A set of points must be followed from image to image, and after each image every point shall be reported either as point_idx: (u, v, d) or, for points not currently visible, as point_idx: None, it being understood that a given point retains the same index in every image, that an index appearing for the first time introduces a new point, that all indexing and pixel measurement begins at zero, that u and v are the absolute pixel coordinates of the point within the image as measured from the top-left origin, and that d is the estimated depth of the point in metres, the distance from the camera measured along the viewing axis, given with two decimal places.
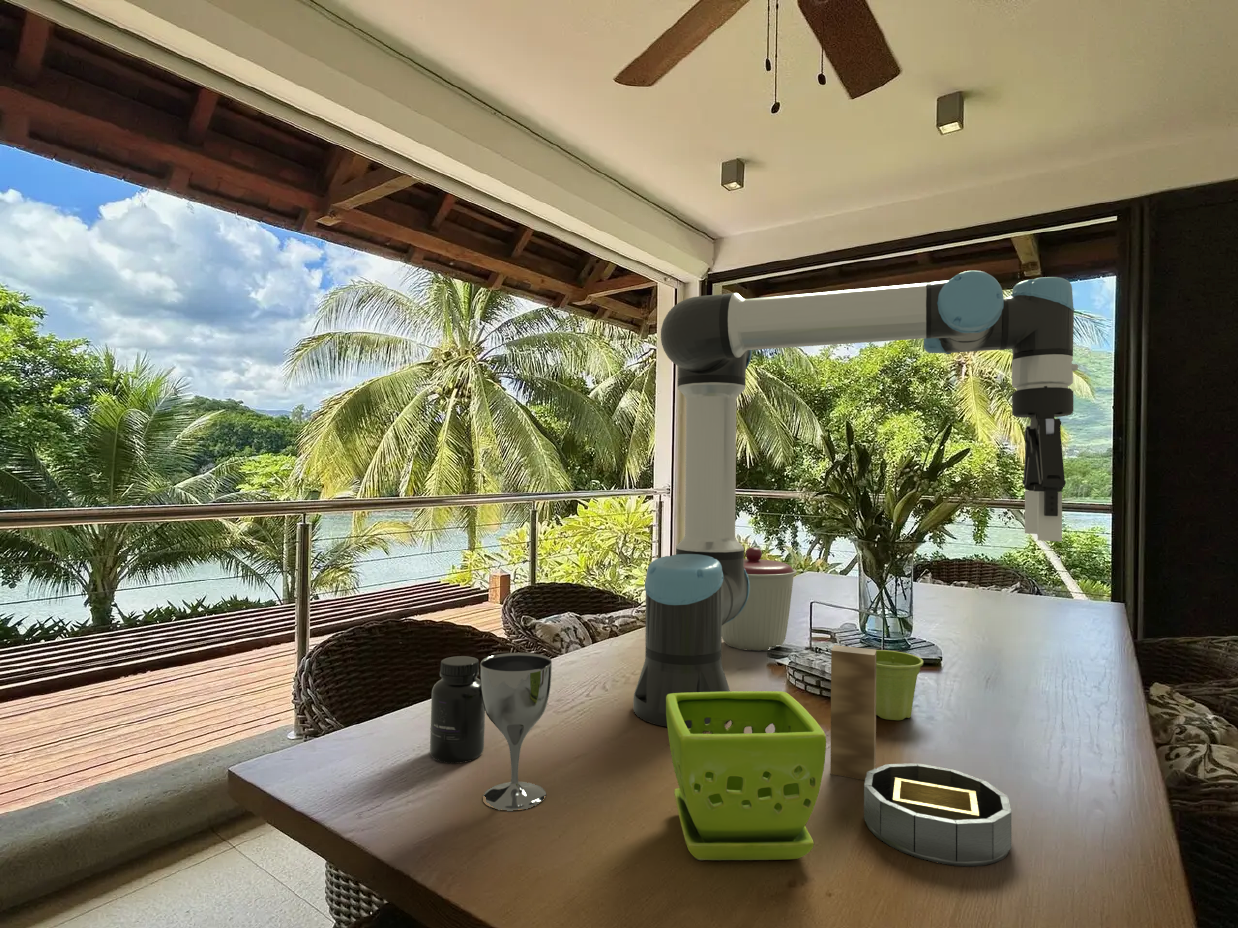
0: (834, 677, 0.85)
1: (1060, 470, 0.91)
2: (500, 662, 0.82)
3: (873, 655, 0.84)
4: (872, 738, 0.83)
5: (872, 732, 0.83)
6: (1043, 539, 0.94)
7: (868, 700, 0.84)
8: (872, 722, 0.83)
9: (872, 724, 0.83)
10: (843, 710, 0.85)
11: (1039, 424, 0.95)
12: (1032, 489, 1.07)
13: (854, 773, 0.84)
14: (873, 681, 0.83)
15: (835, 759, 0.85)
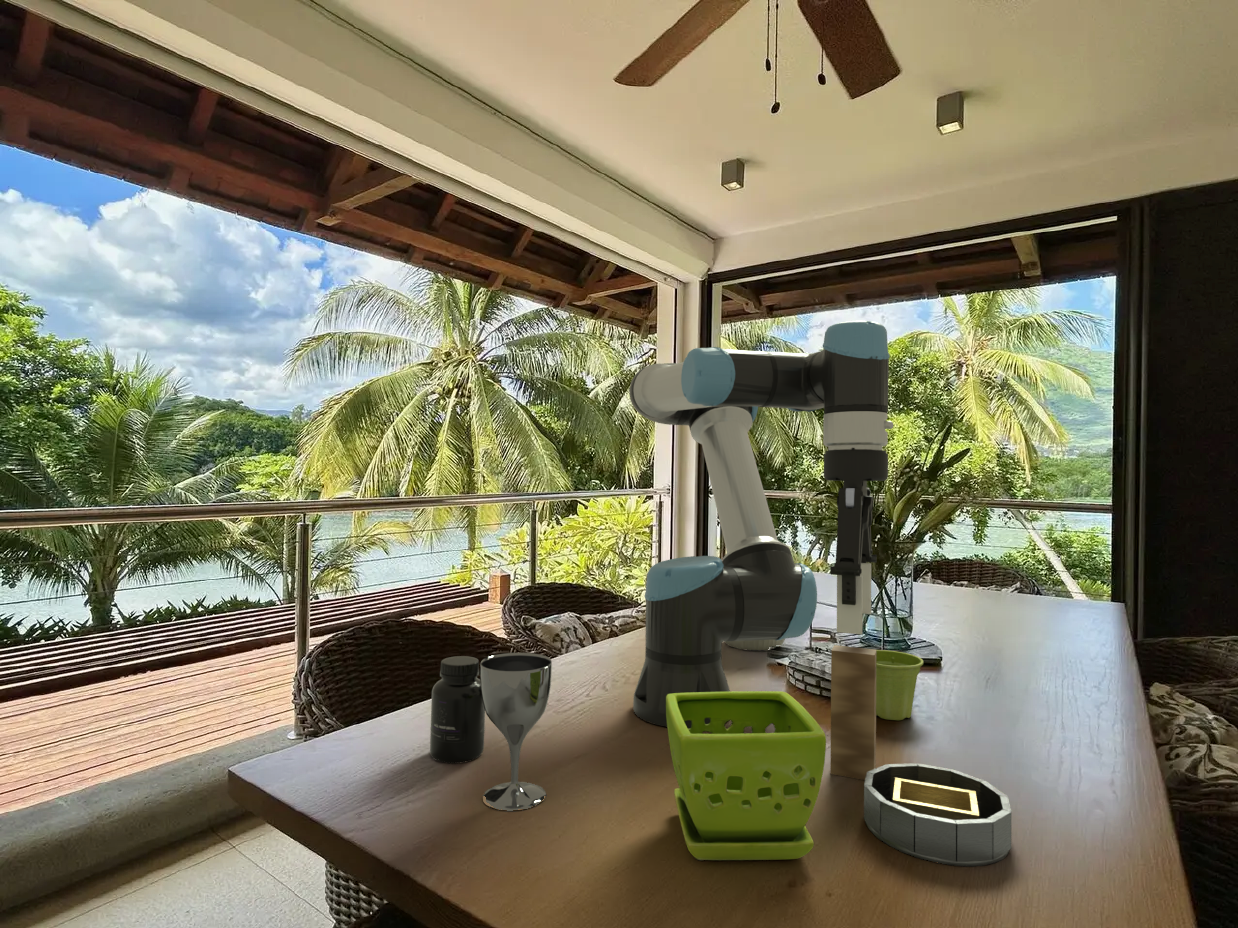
0: (834, 677, 0.85)
1: (855, 552, 0.77)
2: (500, 662, 0.82)
3: (873, 655, 0.84)
4: (872, 738, 0.83)
5: (872, 732, 0.83)
6: (842, 631, 0.79)
7: (868, 700, 0.84)
8: (872, 722, 0.83)
9: (872, 724, 0.83)
10: (843, 710, 0.85)
11: (839, 494, 0.80)
12: None
13: (854, 773, 0.84)
14: (873, 681, 0.83)
15: (835, 759, 0.85)
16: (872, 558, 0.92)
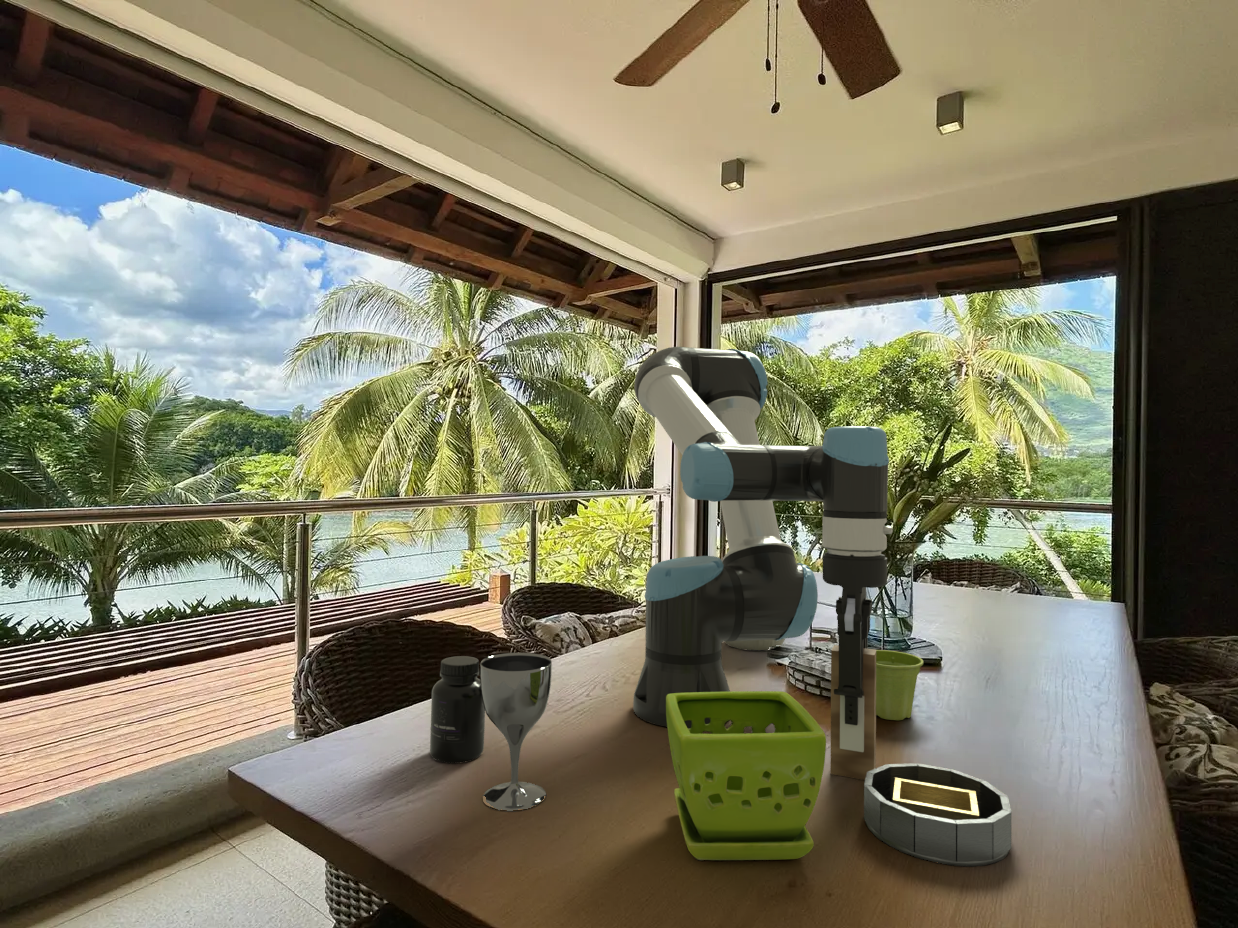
0: (834, 677, 0.85)
1: (857, 680, 0.81)
2: (500, 662, 0.82)
3: (873, 655, 0.84)
4: (872, 738, 0.83)
5: (872, 732, 0.83)
6: (844, 747, 0.84)
7: (868, 700, 0.84)
8: (872, 722, 0.83)
9: (872, 724, 0.83)
10: None
11: (838, 621, 0.81)
12: None
13: (854, 773, 0.84)
14: (873, 681, 0.83)
15: (835, 759, 0.85)
16: None
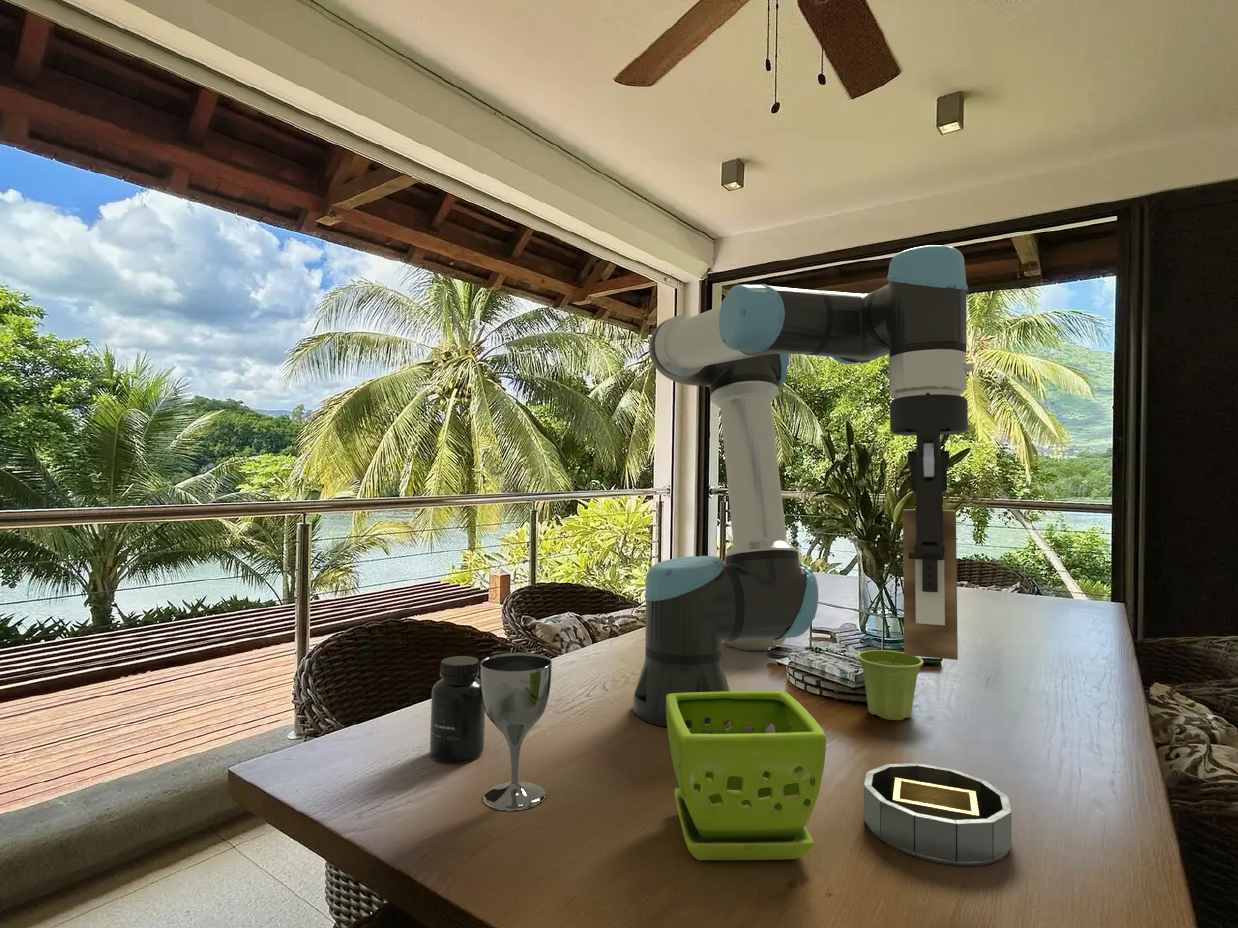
0: (907, 541, 0.73)
1: (938, 535, 0.68)
2: (500, 662, 0.82)
3: (954, 511, 0.71)
4: (955, 609, 0.71)
5: (954, 602, 0.71)
6: (922, 622, 0.71)
7: (949, 564, 0.71)
8: (954, 590, 0.71)
9: (954, 592, 0.71)
10: None
11: (915, 465, 0.68)
12: None
13: (933, 652, 0.71)
14: (955, 542, 0.71)
15: (910, 637, 0.72)
16: None
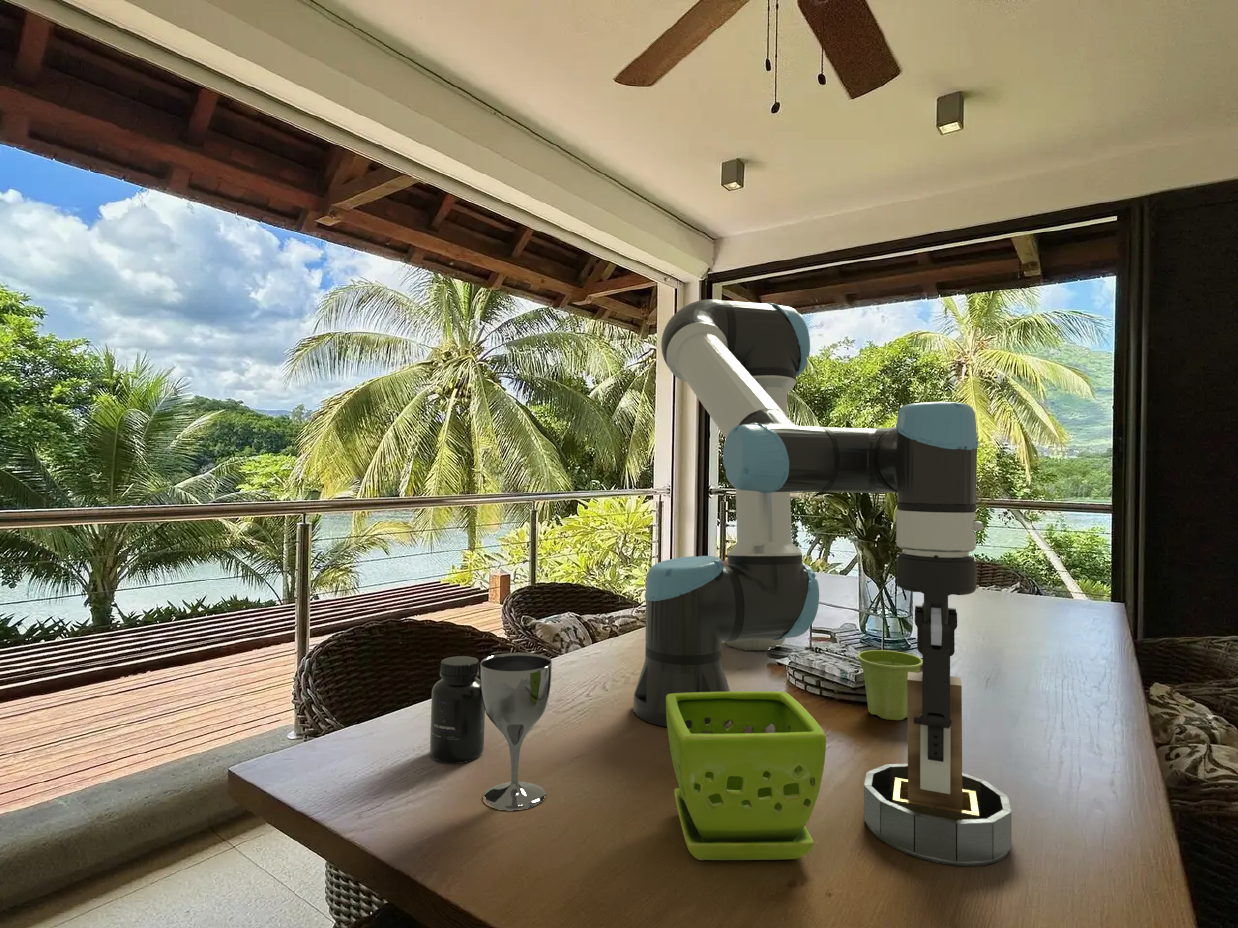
0: (911, 711, 0.71)
1: (945, 706, 0.66)
2: (500, 662, 0.82)
3: (960, 685, 0.70)
4: (960, 785, 0.70)
5: (960, 778, 0.70)
6: (926, 788, 0.69)
7: (954, 739, 0.70)
8: (959, 766, 0.70)
9: (959, 768, 0.70)
10: None
11: (922, 632, 0.67)
12: None
13: None
14: (960, 717, 0.70)
15: None
16: None
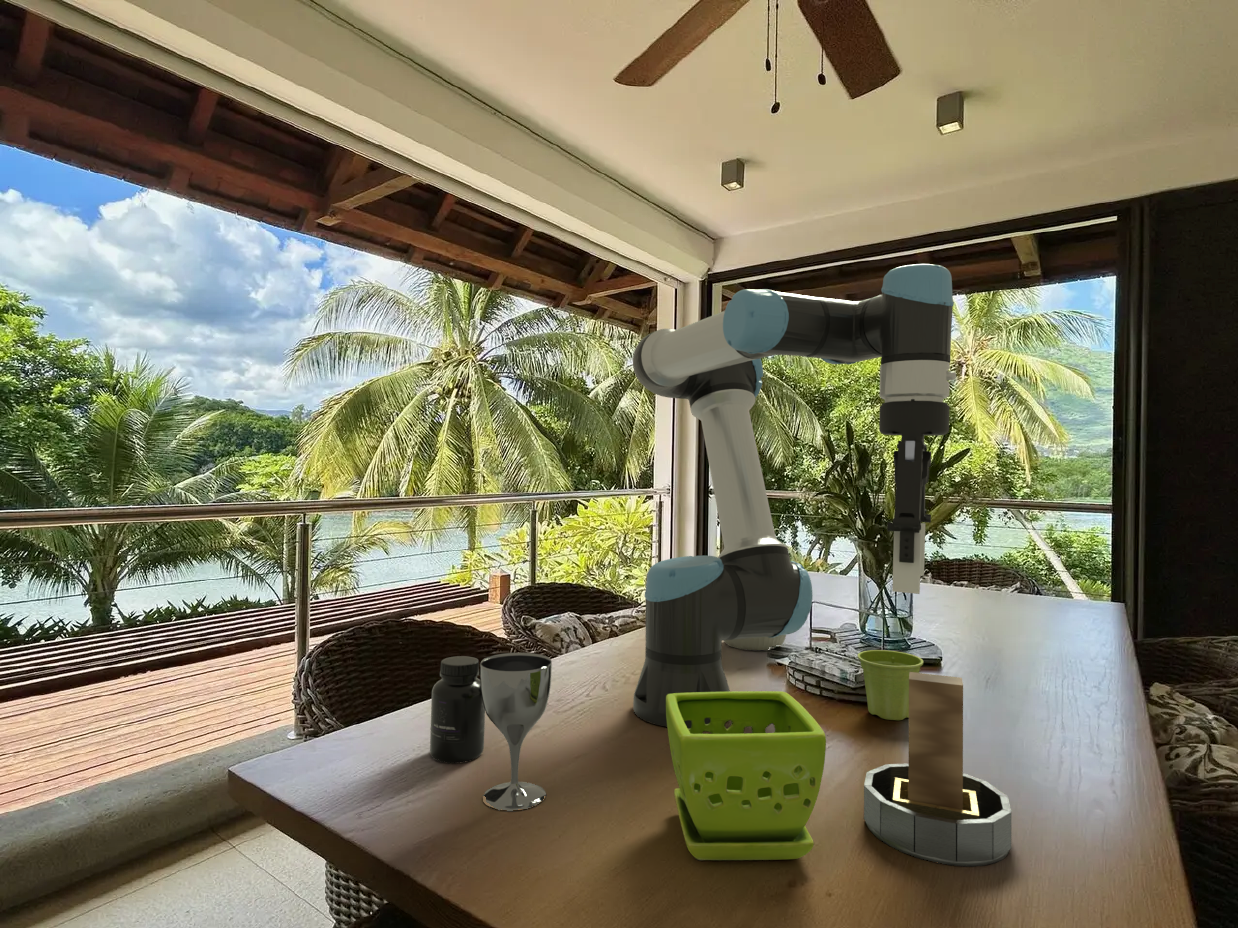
0: (913, 711, 0.72)
1: (915, 507, 0.73)
2: (500, 662, 0.82)
3: (961, 685, 0.70)
4: (960, 785, 0.70)
5: (960, 778, 0.70)
6: (898, 590, 0.76)
7: (955, 739, 0.70)
8: (960, 766, 0.70)
9: (960, 768, 0.70)
10: (924, 750, 0.71)
11: (898, 447, 0.76)
12: None
13: None
14: (961, 717, 0.70)
15: None
16: (926, 518, 0.88)
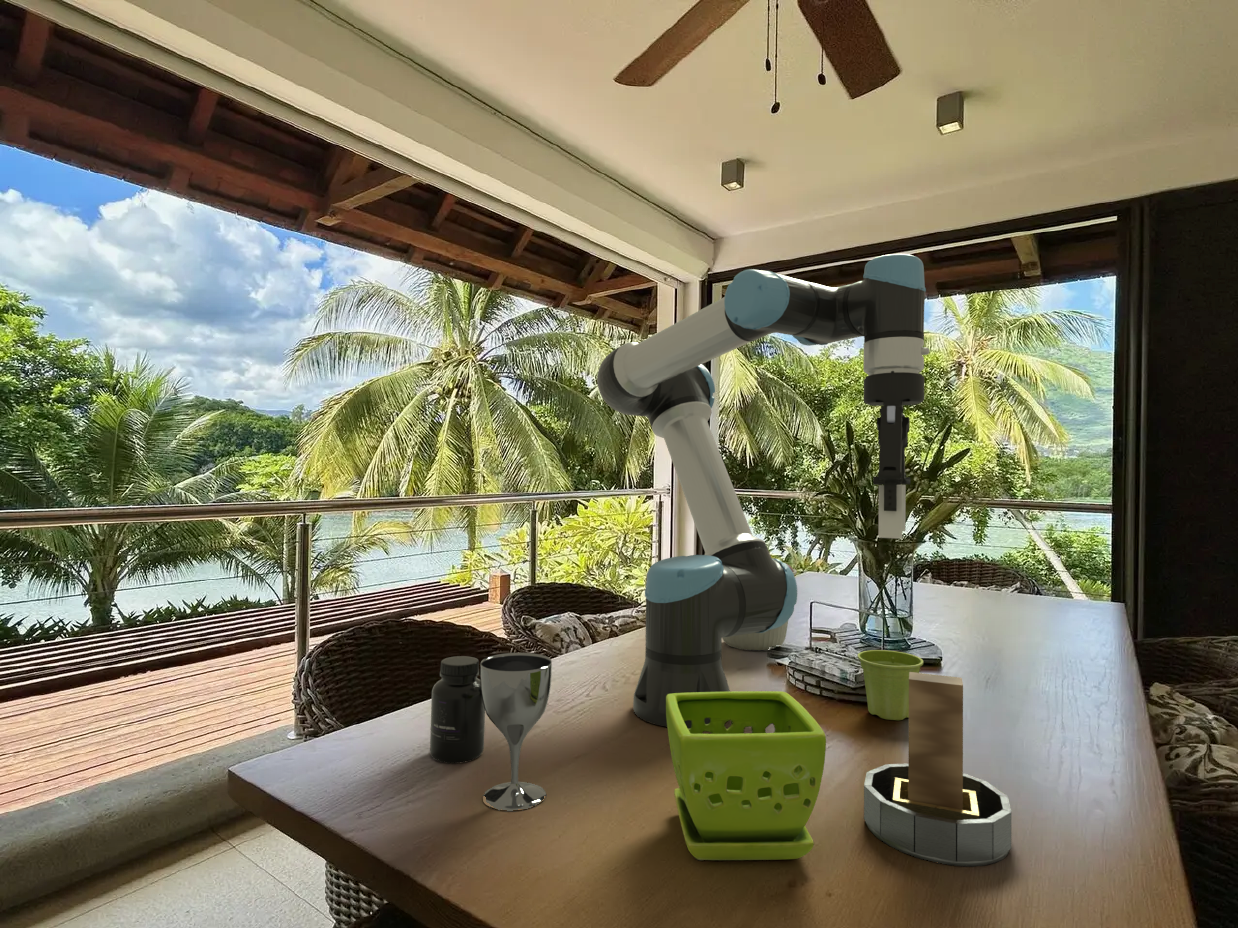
0: (913, 711, 0.72)
1: (897, 461, 0.84)
2: (500, 662, 0.82)
3: (961, 685, 0.70)
4: (960, 785, 0.70)
5: (960, 778, 0.70)
6: (883, 536, 0.86)
7: (955, 739, 0.70)
8: (960, 766, 0.70)
9: (960, 768, 0.70)
10: (924, 750, 0.71)
11: (881, 412, 0.87)
12: None
13: None
14: (961, 717, 0.70)
15: None
16: (906, 480, 0.99)
